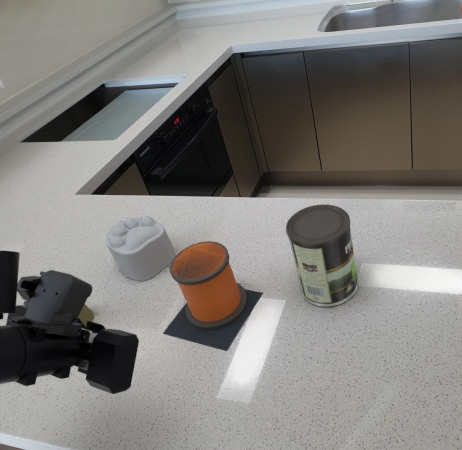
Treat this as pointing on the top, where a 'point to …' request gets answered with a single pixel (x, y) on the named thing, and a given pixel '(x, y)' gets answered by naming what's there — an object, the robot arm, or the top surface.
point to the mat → (214, 337)
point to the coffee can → (323, 254)
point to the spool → (208, 286)
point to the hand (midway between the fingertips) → (121, 338)
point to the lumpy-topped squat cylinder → (140, 247)
